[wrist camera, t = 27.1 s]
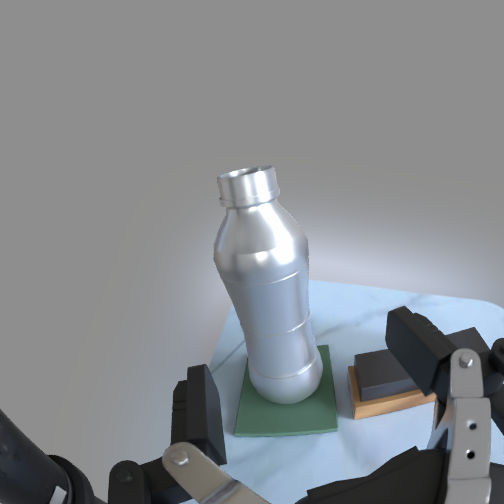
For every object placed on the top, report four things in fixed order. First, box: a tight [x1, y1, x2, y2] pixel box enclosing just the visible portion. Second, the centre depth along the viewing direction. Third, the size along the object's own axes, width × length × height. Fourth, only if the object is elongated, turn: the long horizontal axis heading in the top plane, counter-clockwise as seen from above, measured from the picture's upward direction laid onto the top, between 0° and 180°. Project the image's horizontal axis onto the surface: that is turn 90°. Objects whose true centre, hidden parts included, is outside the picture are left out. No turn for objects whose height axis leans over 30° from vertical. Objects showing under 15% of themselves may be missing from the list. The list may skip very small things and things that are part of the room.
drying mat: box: [234, 345, 338, 437], centre depth 25 cm, size 9×11×1 cm
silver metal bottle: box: [214, 166, 323, 404], centre depth 21 cm, size 6×7×20 cm
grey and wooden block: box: [348, 327, 490, 419], centre depth 21 cm, size 14×5×4 cm, turn 84°
